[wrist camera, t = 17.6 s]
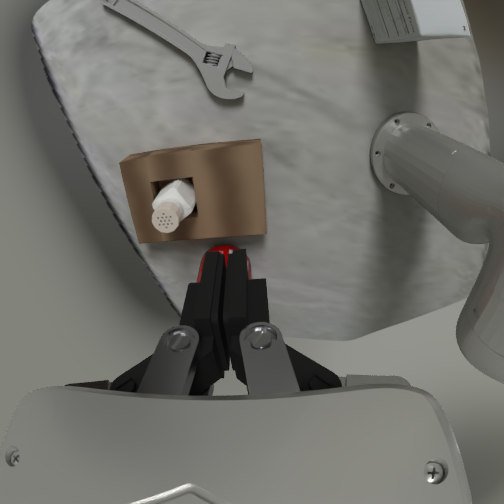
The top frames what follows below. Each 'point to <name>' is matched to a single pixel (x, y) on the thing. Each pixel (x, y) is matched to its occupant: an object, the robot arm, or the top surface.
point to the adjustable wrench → (189, 47)
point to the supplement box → (415, 20)
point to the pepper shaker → (173, 204)
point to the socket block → (200, 189)
